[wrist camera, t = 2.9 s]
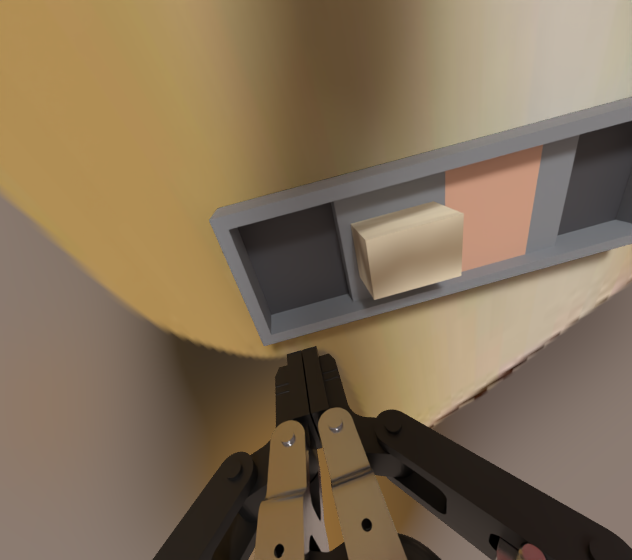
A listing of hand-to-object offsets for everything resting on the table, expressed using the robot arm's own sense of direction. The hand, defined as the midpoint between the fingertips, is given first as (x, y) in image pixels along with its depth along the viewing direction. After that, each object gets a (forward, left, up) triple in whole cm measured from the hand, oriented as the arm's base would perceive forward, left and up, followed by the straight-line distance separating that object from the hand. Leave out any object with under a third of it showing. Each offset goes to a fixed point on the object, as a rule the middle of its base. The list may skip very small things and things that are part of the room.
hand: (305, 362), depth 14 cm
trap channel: (0, +15, -13) cm, 19 cm away
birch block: (0, +9, -11) cm, 14 cm away
